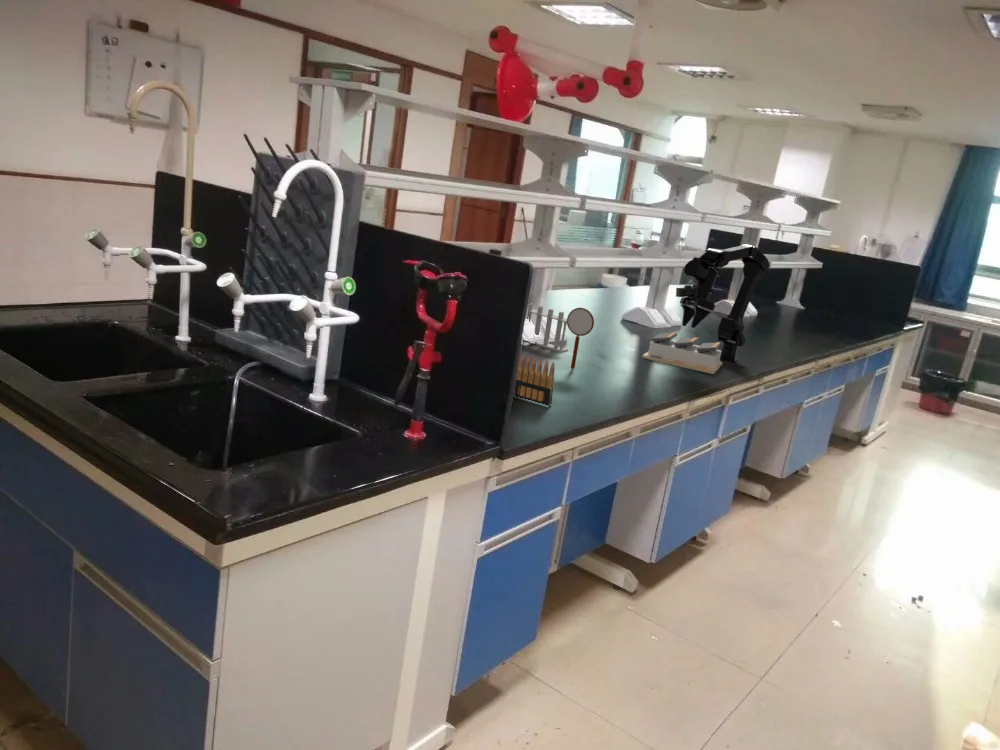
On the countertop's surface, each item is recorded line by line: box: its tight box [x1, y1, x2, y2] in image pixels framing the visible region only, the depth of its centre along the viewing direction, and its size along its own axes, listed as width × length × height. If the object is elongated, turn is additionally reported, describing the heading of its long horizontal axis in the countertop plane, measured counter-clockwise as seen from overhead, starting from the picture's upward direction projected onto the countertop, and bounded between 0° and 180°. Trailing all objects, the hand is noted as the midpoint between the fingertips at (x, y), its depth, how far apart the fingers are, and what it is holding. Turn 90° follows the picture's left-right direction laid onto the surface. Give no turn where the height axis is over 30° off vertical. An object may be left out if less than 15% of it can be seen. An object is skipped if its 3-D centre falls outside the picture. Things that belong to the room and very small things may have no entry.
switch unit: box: [641, 339, 723, 375], centre depth 265 cm, size 18×25×6 cm
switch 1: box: [651, 332, 678, 342], centre depth 267 cm, size 12×6×1 cm, turn 155°
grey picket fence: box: [527, 302, 569, 353], centre depth 260 cm, size 25×4×13 cm, turn 51°
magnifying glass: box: [566, 307, 595, 372], centre depth 229 cm, size 9×2×20 cm, turn 63°
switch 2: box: [697, 341, 722, 351], centre depth 261 cm, size 12×6×1 cm, turn 155°
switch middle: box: [674, 337, 700, 346], centre depth 264 cm, size 12×6×1 cm, turn 155°
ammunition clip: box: [515, 353, 556, 406], centre depth 193 cm, size 11×2×12 cm, turn 62°
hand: (687, 326), depth 259 cm, fingers open, 9 cm apart
